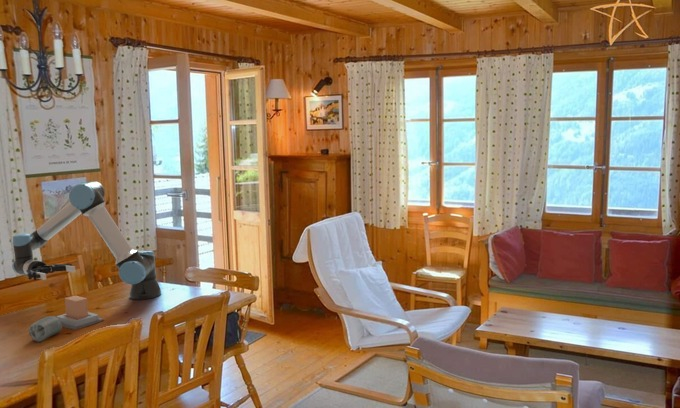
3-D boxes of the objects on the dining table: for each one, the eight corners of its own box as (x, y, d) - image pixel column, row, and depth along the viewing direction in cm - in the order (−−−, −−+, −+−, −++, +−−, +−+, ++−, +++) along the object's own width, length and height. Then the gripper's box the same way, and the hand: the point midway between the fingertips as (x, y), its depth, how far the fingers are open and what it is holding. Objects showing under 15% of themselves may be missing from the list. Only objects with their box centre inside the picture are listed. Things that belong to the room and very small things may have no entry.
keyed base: (81, 314, 271) (81, 308, 270) (103, 320, 261) (102, 314, 261) (52, 323, 260) (51, 316, 259) (73, 330, 250) (73, 323, 249)
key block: (77, 317, 265) (75, 295, 264) (88, 320, 260) (86, 298, 258) (66, 320, 261) (64, 298, 260) (78, 323, 256) (76, 301, 254)
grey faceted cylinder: (43, 337, 232) (36, 313, 235) (26, 346, 235) (20, 323, 238) (70, 334, 245) (64, 311, 247) (54, 342, 248) (48, 320, 250)
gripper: (62, 270, 286) (86, 274, 274) (9, 282, 266) (33, 288, 254) (60, 255, 285) (85, 259, 273) (7, 266, 265) (31, 271, 253)
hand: (60, 273), depth 263 cm, fingers open, 13 cm apart
